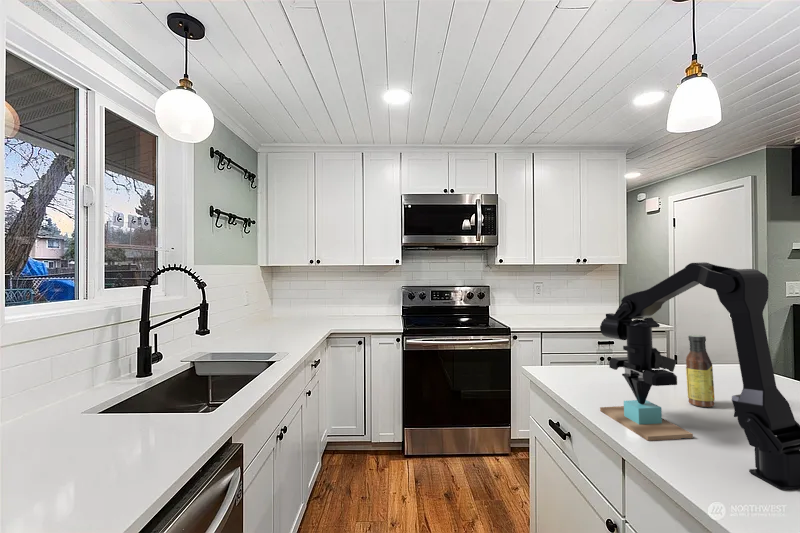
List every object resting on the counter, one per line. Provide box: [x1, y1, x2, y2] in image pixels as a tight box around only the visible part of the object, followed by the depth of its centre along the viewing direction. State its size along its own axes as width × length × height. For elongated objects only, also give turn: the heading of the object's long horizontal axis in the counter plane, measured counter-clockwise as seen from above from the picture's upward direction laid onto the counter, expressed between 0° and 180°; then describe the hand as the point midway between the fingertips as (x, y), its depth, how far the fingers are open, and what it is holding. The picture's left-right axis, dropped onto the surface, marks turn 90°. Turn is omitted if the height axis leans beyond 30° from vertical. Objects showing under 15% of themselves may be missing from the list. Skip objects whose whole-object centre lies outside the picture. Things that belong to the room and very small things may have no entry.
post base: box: [599, 405, 694, 442], centre depth 103 cm, size 20×11×4 cm, turn 3°
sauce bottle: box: [685, 334, 715, 408], centre depth 116 cm, size 6×6×20 cm
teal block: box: [623, 399, 663, 425], centre depth 103 cm, size 6×6×4 cm
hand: (641, 403), depth 103 cm, fingers closed
